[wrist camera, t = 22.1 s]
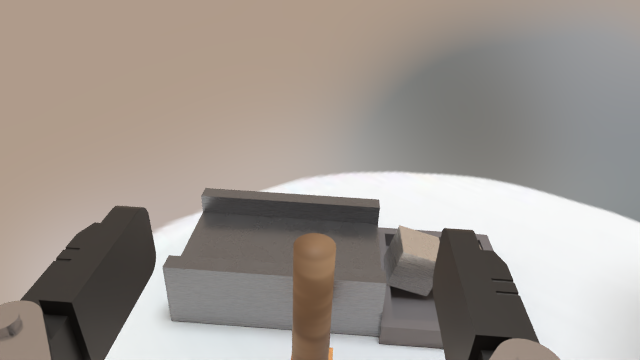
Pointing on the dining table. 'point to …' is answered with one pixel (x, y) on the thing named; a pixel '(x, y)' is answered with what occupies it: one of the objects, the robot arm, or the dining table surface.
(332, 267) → the wooden post on base
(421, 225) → the dining table surface
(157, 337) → the dining table surface
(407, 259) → the chip
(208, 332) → the dining table surface
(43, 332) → the robot arm
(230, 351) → the dining table surface
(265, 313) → the slot board
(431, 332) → the tray
